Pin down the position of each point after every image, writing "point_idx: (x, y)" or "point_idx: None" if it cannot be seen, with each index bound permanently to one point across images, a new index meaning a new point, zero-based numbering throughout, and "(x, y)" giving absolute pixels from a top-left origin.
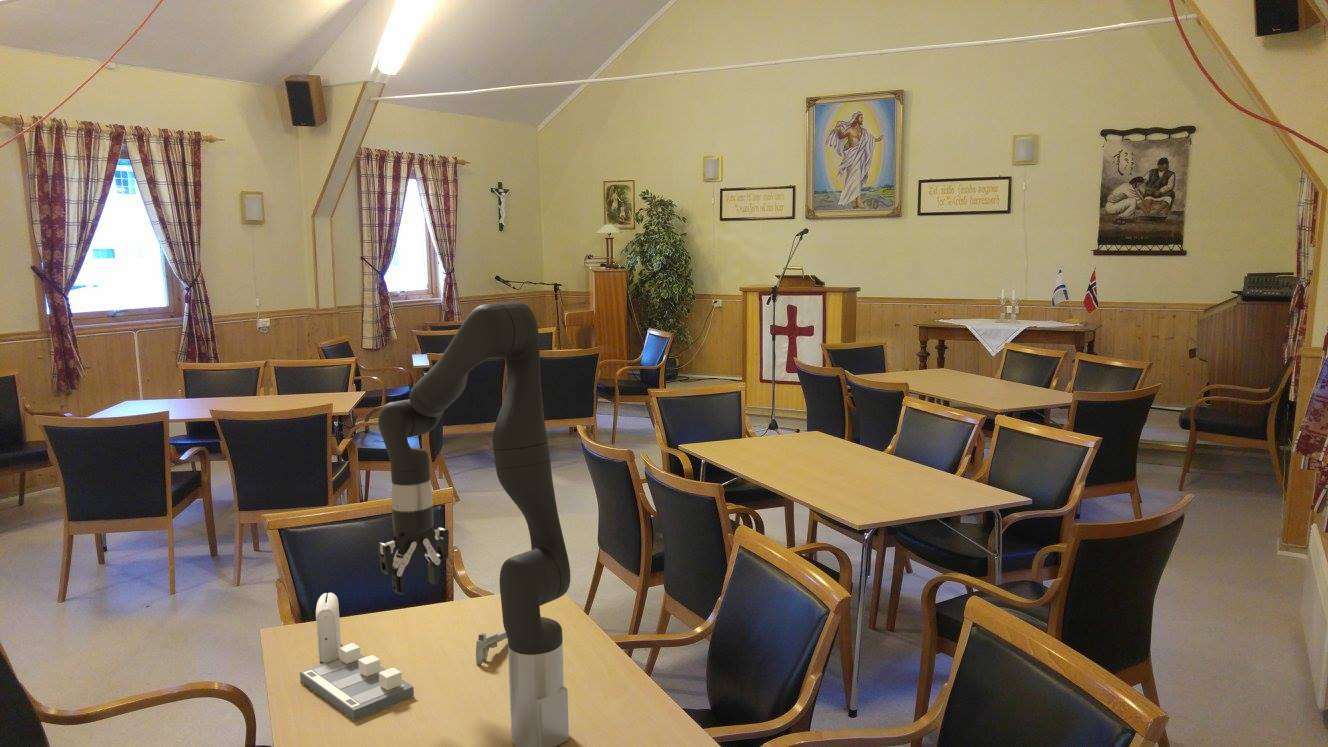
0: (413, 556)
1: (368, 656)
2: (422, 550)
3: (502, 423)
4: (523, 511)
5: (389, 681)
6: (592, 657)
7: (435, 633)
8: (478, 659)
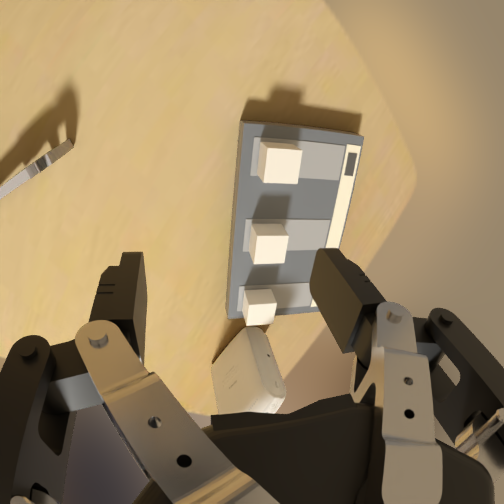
0: (329, 408)
1: (263, 262)
2: (248, 452)
3: None
4: None
5: (293, 147)
6: None
7: (79, 309)
8: (68, 144)
